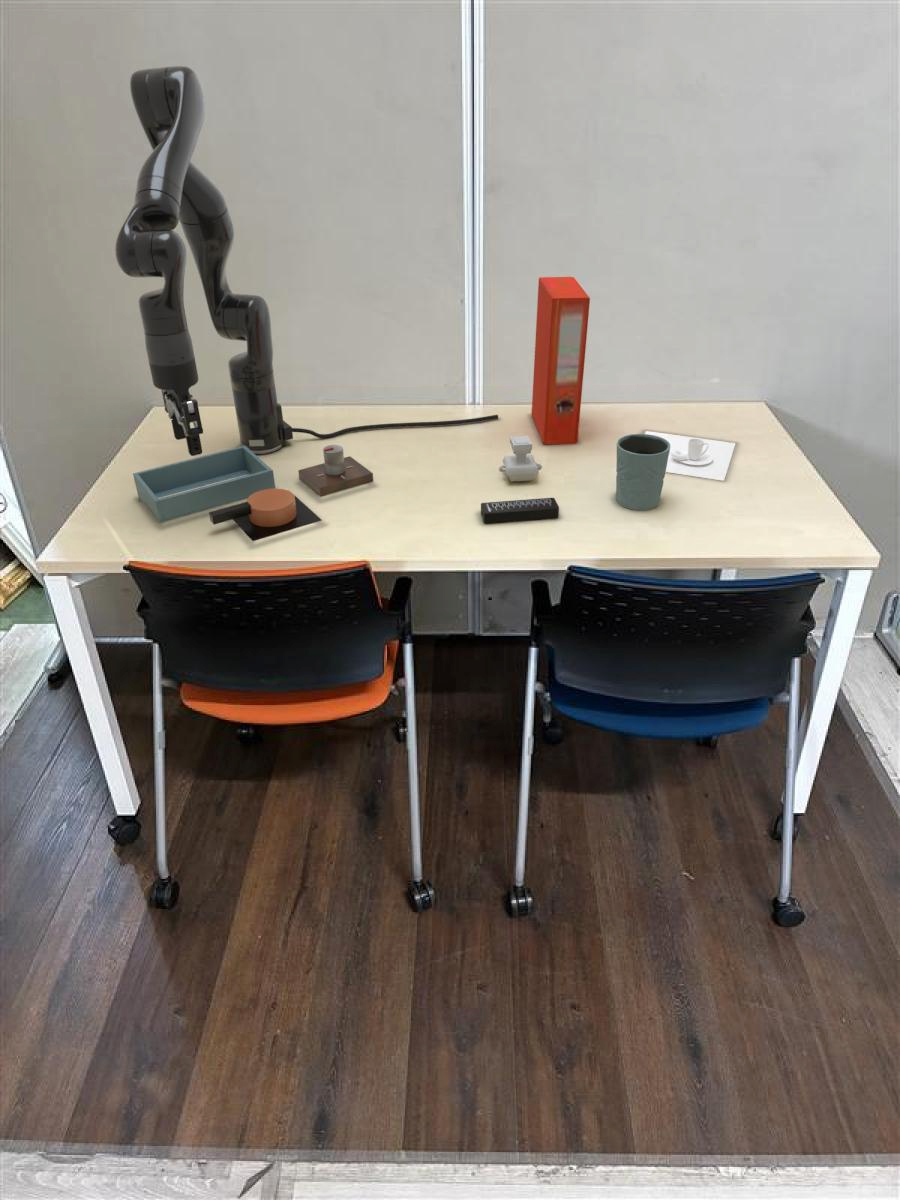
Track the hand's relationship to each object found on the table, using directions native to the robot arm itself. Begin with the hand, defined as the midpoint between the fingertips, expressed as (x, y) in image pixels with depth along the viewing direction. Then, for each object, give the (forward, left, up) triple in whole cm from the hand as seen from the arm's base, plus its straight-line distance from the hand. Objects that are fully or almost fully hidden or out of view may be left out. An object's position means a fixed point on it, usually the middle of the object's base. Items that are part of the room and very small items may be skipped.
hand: (188, 446), depth 154 cm
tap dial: (-29, -2, -14) cm, 32 cm away
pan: (-8, +5, -15) cm, 18 cm away
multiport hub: (-52, +30, -17) cm, 62 cm away
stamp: (-62, +17, -17) cm, 66 cm away
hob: (-12, +5, -17) cm, 21 cm away
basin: (-5, -12, -17) cm, 21 cm away
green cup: (-75, +38, -17) cm, 86 cm away
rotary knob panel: (-29, -2, -17) cm, 33 cm away
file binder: (-84, +1, -17) cm, 86 cm away
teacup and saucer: (-98, +28, -17) cm, 103 cm away
